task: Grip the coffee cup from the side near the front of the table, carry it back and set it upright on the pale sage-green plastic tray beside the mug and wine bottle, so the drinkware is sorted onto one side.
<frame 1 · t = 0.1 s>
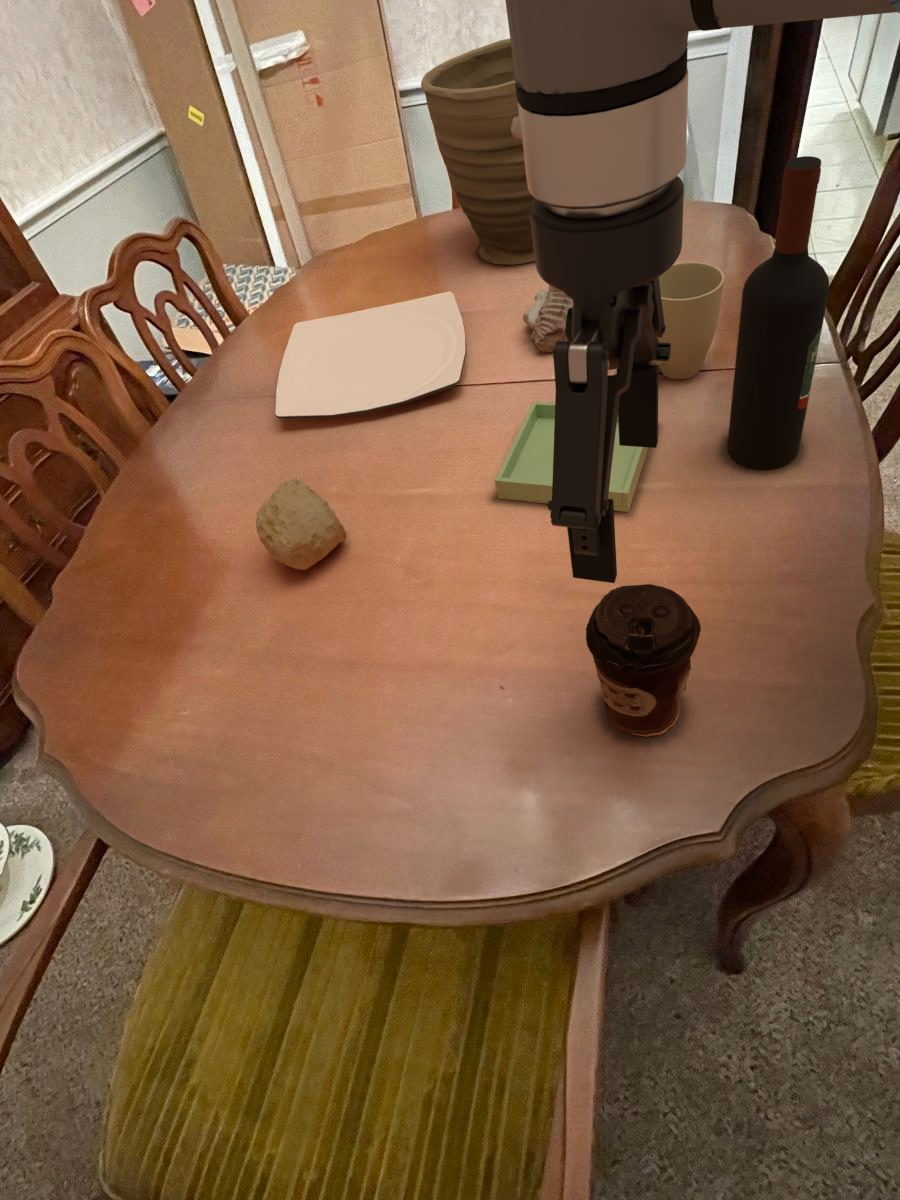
hand: (618, 505, 53), 22 cm above the table, tool pointing down, fingers open, 13 cm apart
wine bottle: (762, 449, 85), on the table
tray: (578, 462, 90), on the table
seashell: (561, 330, 110), on the table
tan rock: (310, 553, 89), on the table
coffee cup: (641, 709, 67), on the table
plate: (374, 366, 113), on the table
vase: (523, 246, 130), on the table
mug: (675, 374, 98), on the table
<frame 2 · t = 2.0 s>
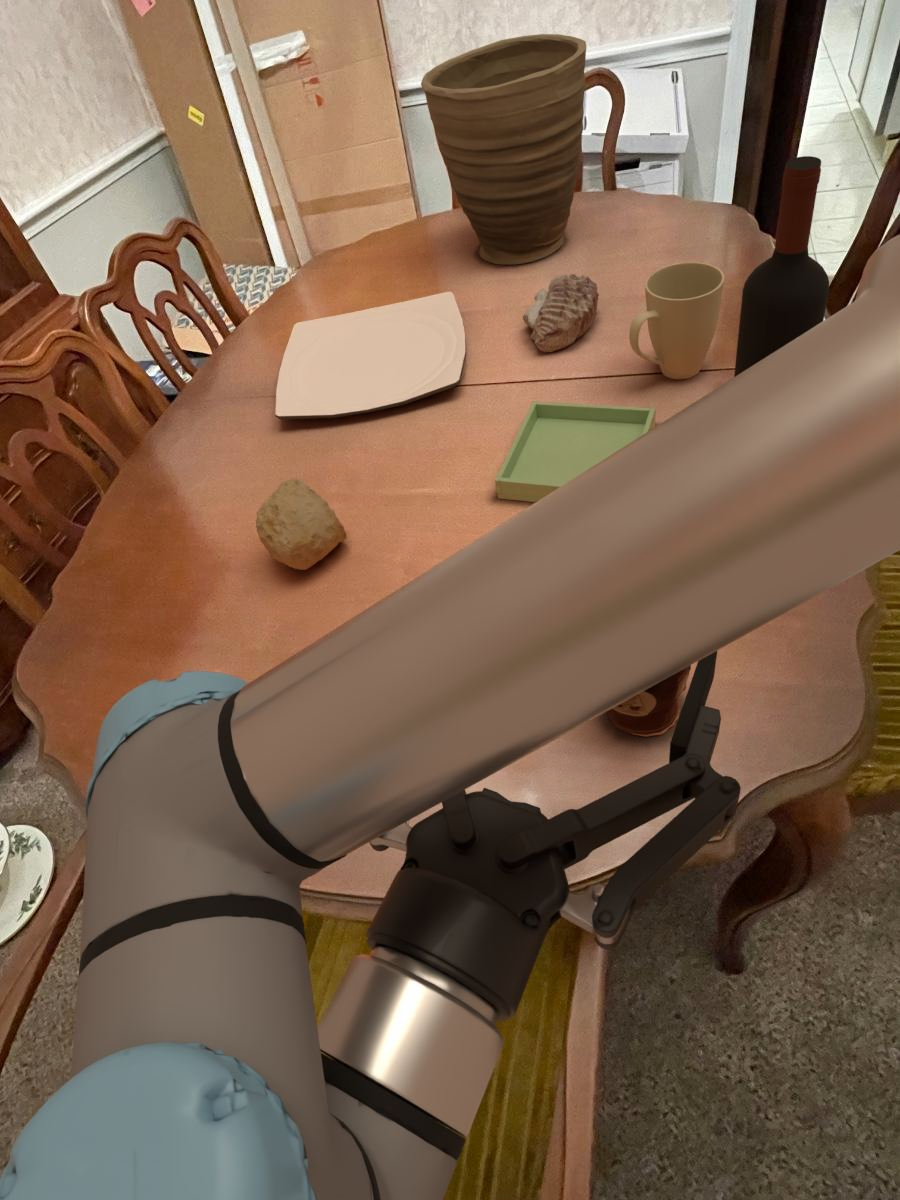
hand: (592, 631, 45), 22 cm above the table, tool horizontal, fingers open, 13 cm apart
nothing on the table moved.
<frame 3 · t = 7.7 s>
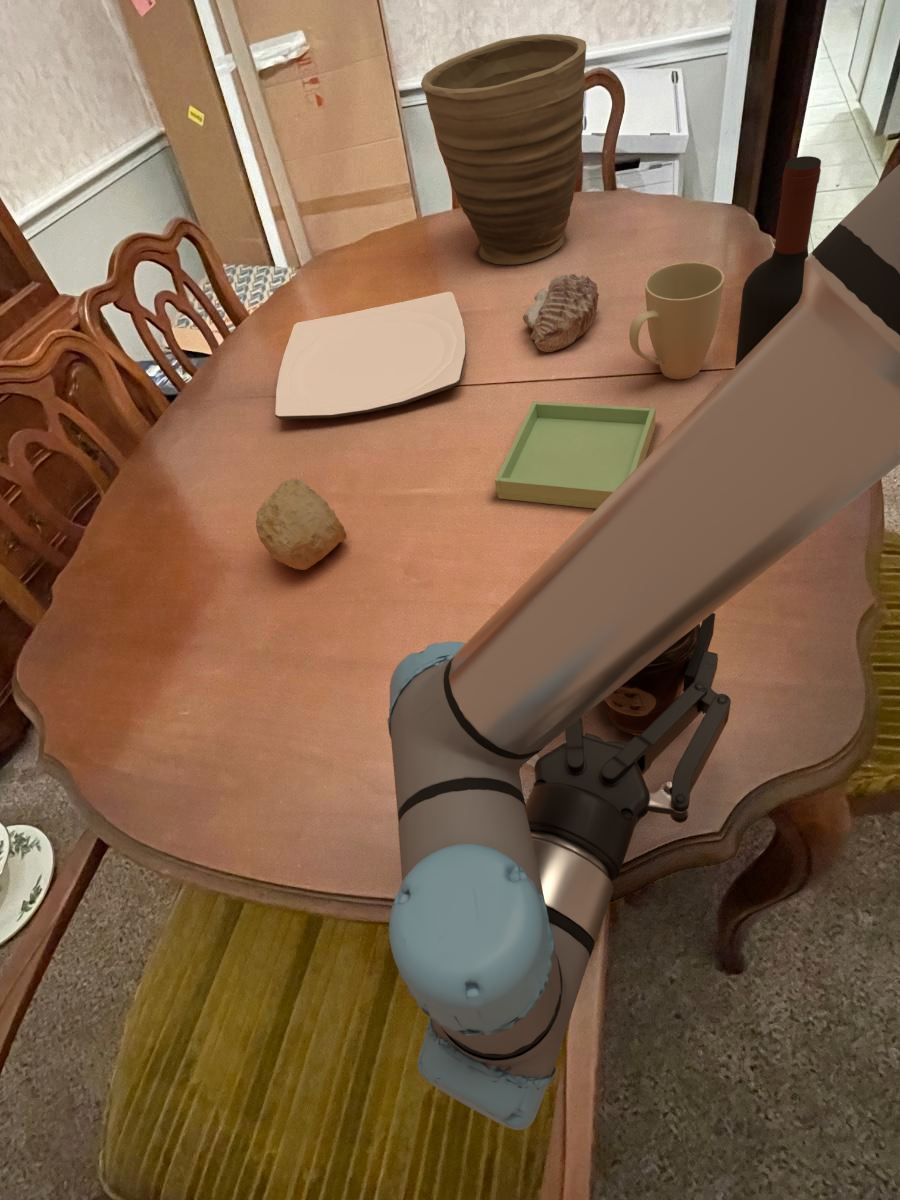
hand: (657, 611, 63), 8 cm above the table, tool horizontal, fingers closed on coffee cup, 8 cm apart
coffee cup: (641, 709, 67), on the table, touching gripper
everything else where it was.
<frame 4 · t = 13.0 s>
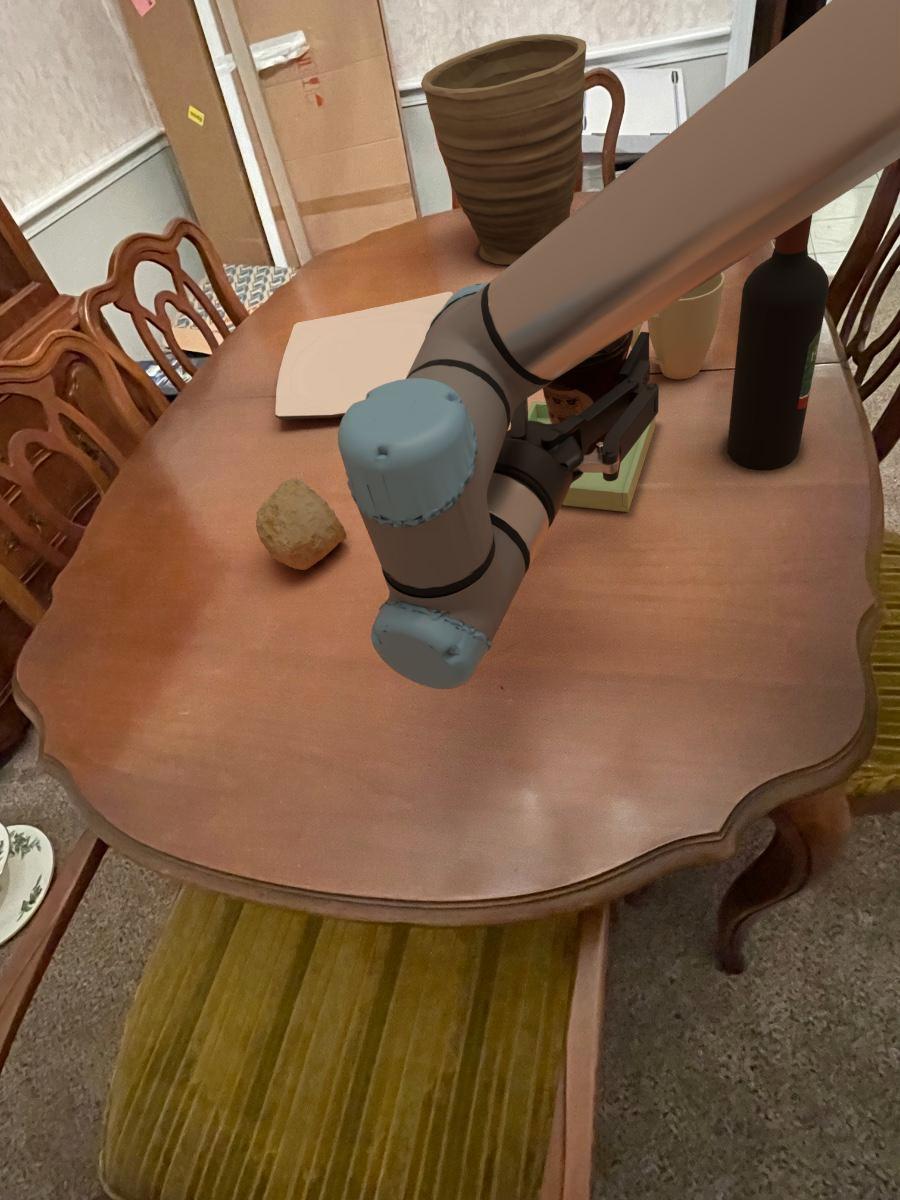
hand: (599, 342, 69), 20 cm above the table, tool horizontal, fingers closed on coffee cup, 8 cm apart
coffee cup: (587, 444, 73), point 12 cm above the table, touching gripper
everything else where it was.
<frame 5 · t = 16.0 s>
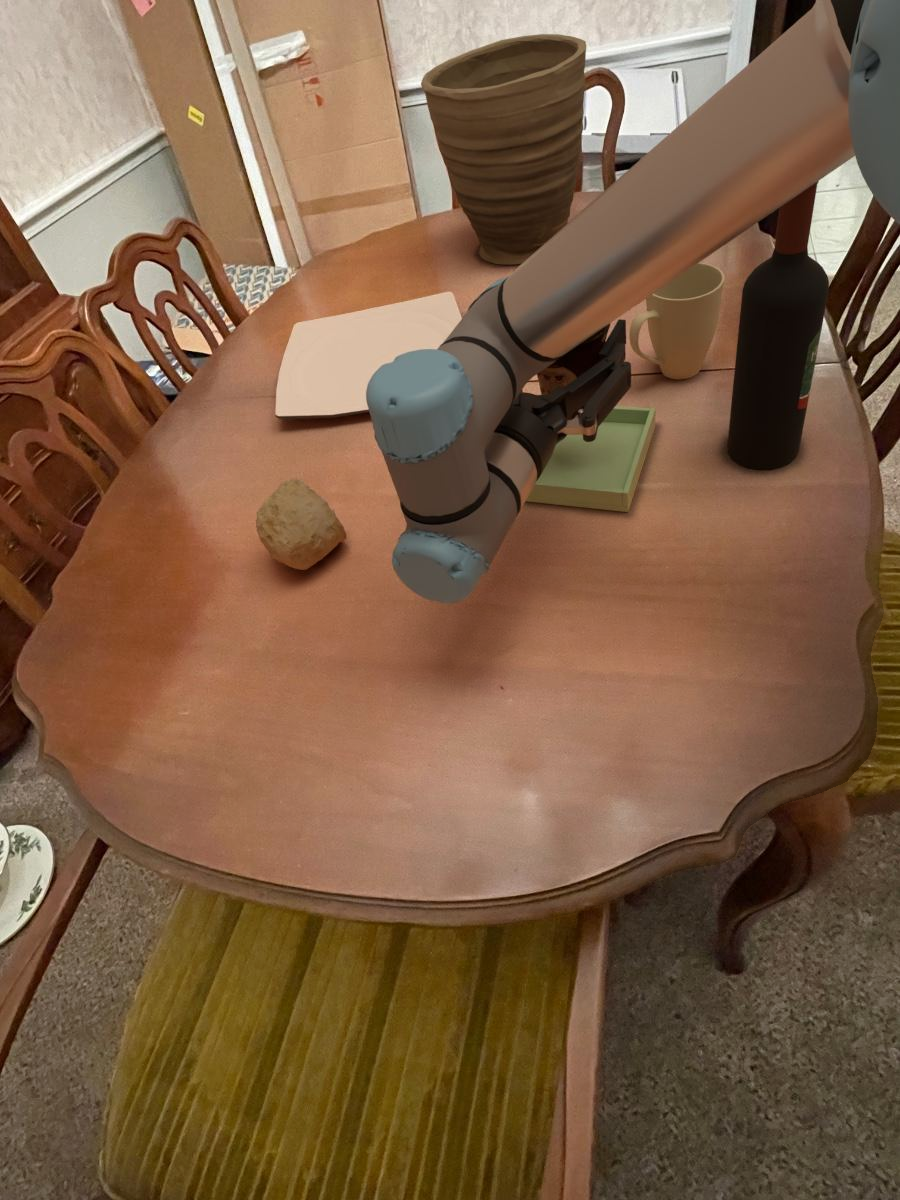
hand: (584, 328, 82), 15 cm above the table, tool horizontal, fingers closed on coffee cup, 8 cm apart
coffee cup: (573, 416, 85), point 7 cm above the table, touching gripper
everything else where it was.
when the fingers open (9 cm above the table, at t = 18.2 s): coffee cup stays where it is, resting on tray.
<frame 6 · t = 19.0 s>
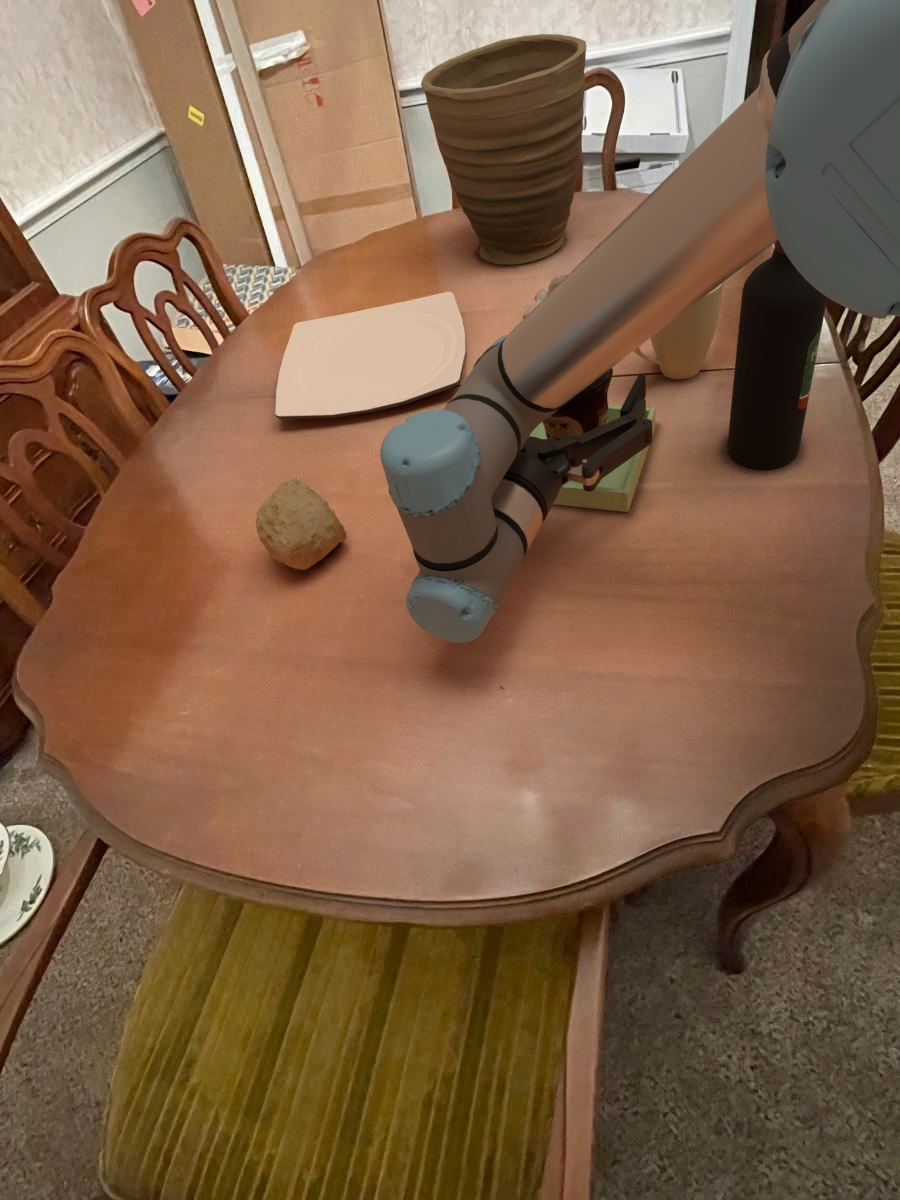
hand: (582, 379, 85), 9 cm above the table, tool horizontal, fingers open, 13 cm apart
coffee cup: (577, 458, 89), point 1 cm above the table, touching tray
everything else where it was.
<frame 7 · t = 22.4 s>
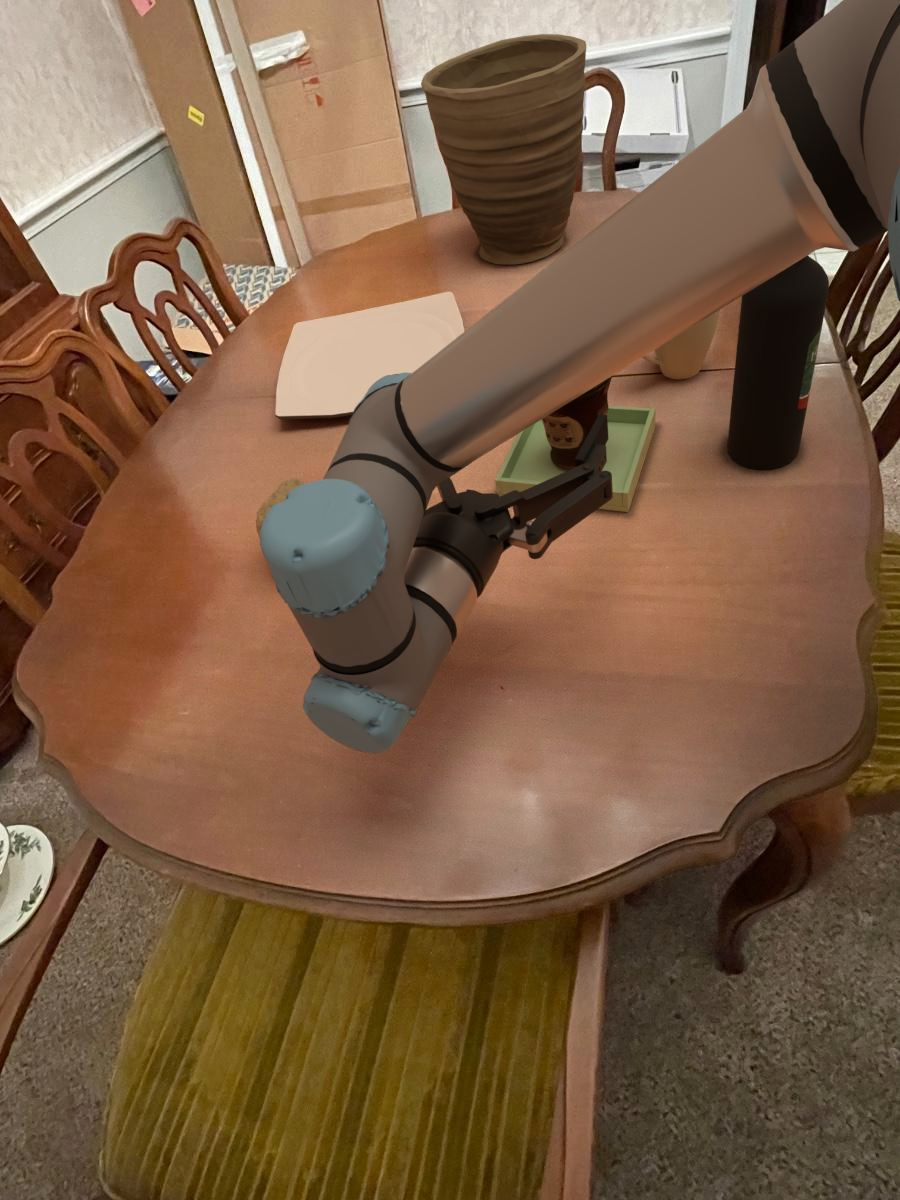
hand: (535, 418, 72), 15 cm above the table, tool horizontal, fingers open, 13 cm apart
nothing on the table moved.
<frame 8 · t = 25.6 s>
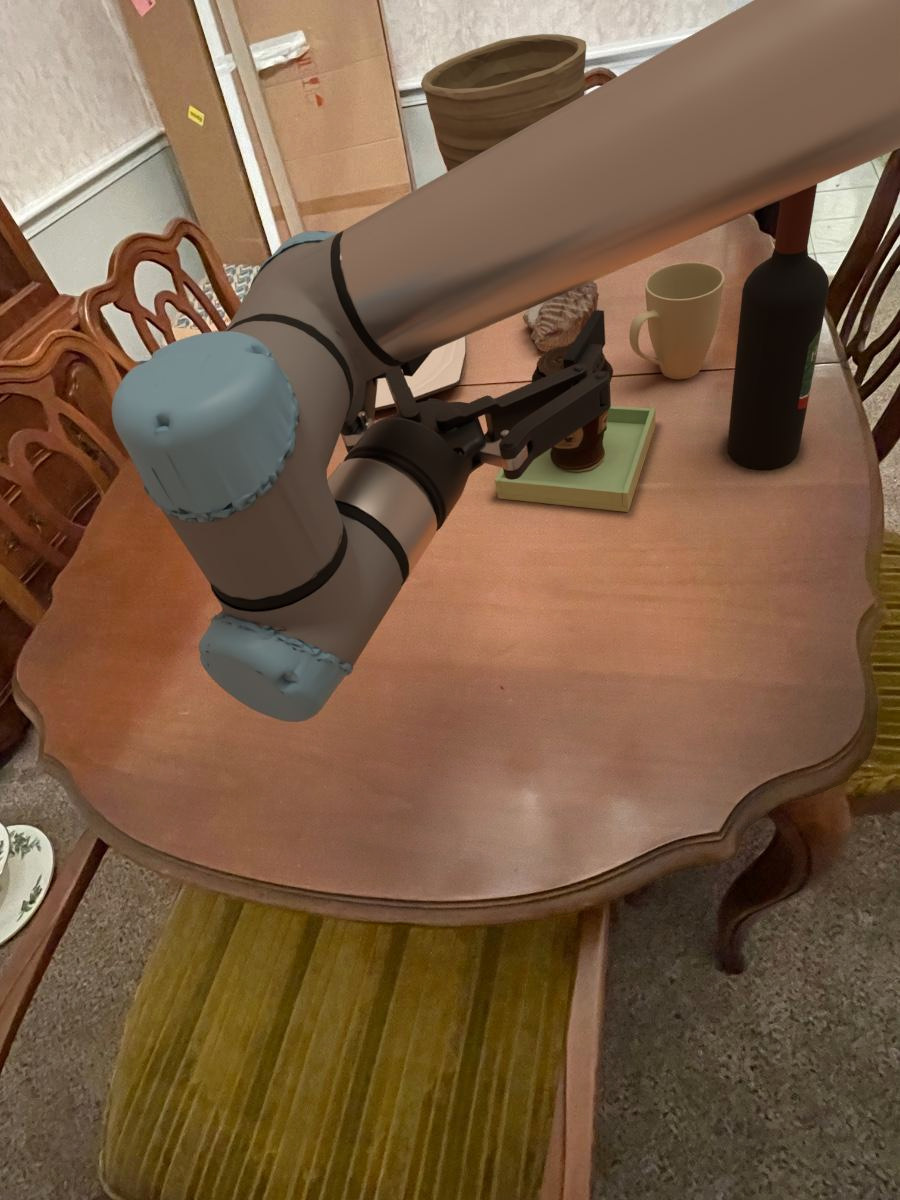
hand: (516, 321, 59), 28 cm above the table, tool horizontal, fingers open, 13 cm apart
nothing on the table moved.
at the end: coffee cup inside the target area in the tray (0.0 cm from its centre), point 0.6 cm above the tray's base; coffee cup tilted 0°; the gripper is holding nothing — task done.
